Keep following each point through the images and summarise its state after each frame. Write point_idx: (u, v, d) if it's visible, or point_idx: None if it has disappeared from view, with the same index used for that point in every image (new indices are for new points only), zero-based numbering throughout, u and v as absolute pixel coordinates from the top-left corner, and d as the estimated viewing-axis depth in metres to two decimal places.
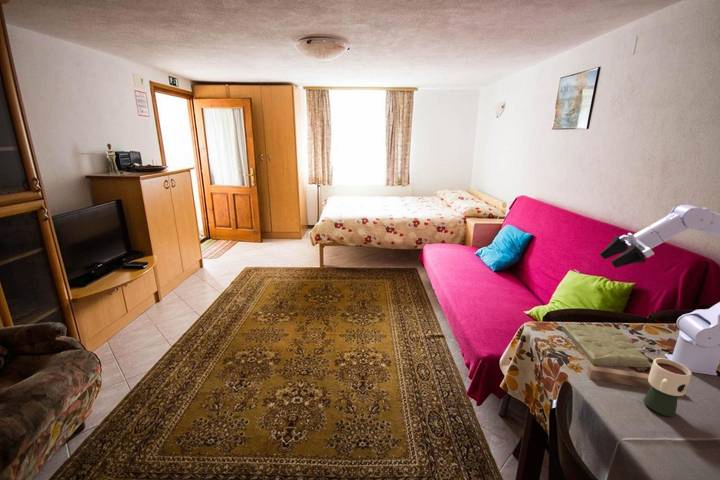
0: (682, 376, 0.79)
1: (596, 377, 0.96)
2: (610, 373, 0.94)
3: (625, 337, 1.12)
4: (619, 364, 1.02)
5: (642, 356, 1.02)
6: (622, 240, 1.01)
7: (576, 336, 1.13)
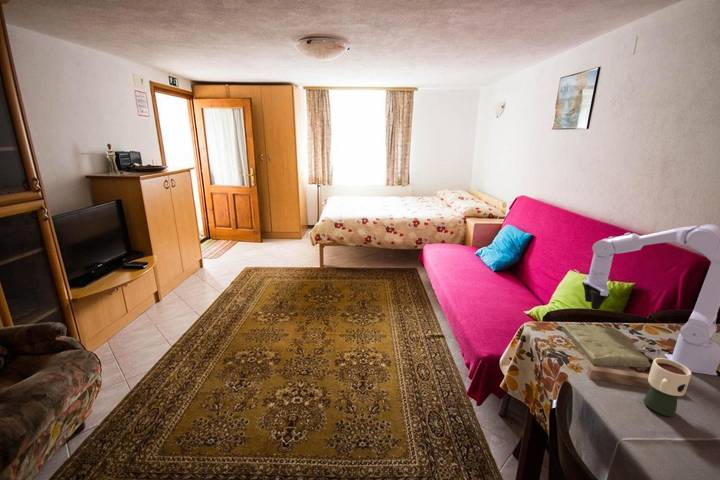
0: (682, 376, 0.79)
1: (596, 377, 0.96)
2: (610, 373, 0.94)
3: (625, 337, 1.12)
4: (619, 364, 1.02)
5: (642, 356, 1.02)
6: None
7: (576, 336, 1.13)
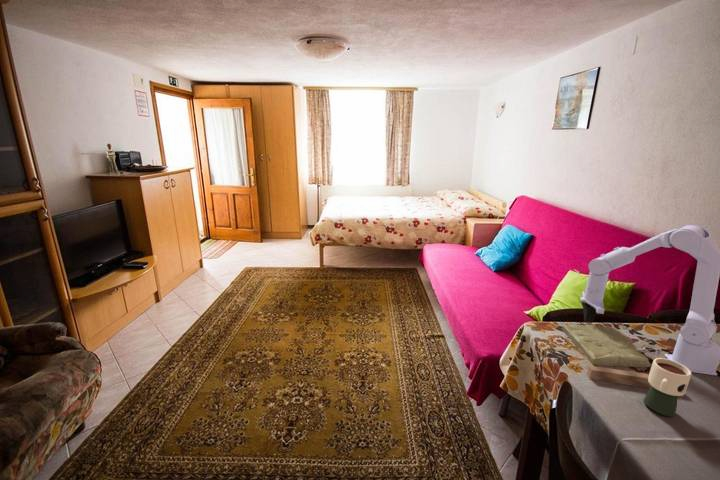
0: (682, 376, 0.79)
1: (596, 377, 0.96)
2: (610, 373, 0.94)
3: (625, 337, 1.12)
4: (619, 364, 1.02)
5: (642, 356, 1.02)
6: None
7: (576, 336, 1.13)
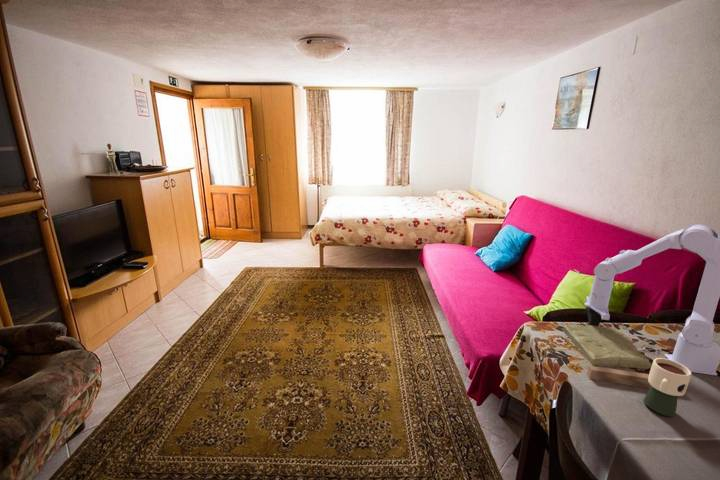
0: (682, 376, 0.79)
1: (596, 377, 0.96)
2: (610, 373, 0.94)
3: (626, 338, 1.11)
4: (619, 365, 1.01)
5: (643, 357, 1.02)
6: None
7: (577, 336, 1.13)
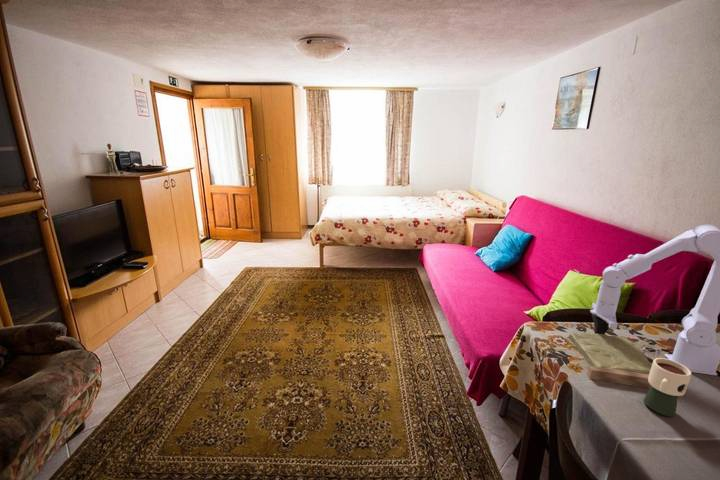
0: (682, 376, 0.79)
1: (596, 377, 0.96)
2: (610, 373, 0.94)
3: (636, 348, 1.06)
4: None
5: None
6: None
7: (583, 345, 1.08)
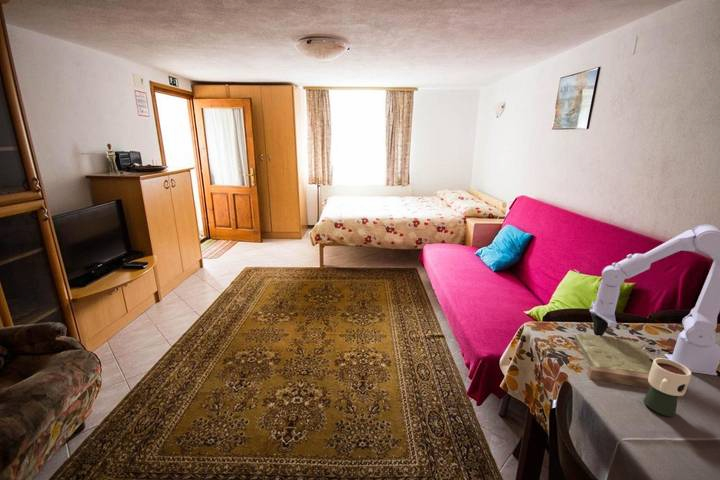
0: (682, 376, 0.79)
1: (596, 377, 0.96)
2: (610, 373, 0.94)
3: (642, 352, 1.04)
4: None
5: None
6: None
7: (586, 346, 1.08)
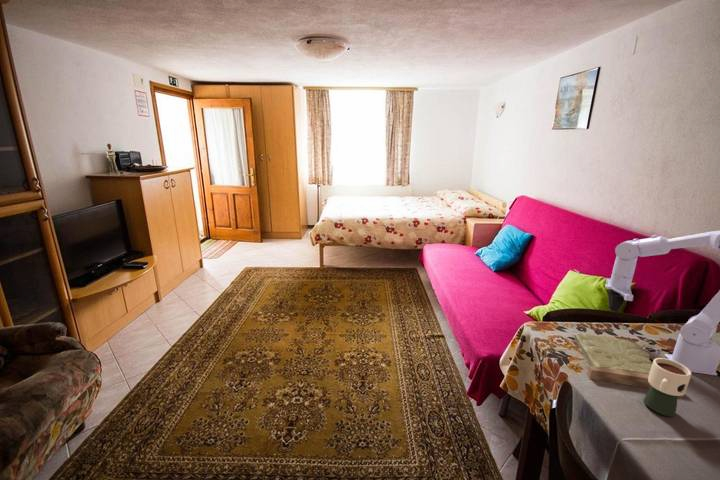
0: (682, 376, 0.79)
1: (596, 377, 0.96)
2: (610, 373, 0.94)
3: (642, 352, 1.04)
4: None
5: None
6: None
7: (586, 346, 1.08)
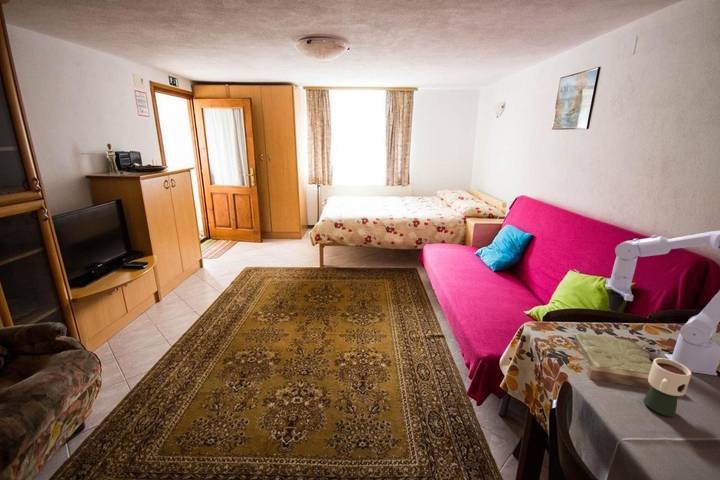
0: (682, 376, 0.79)
1: (596, 377, 0.96)
2: (610, 373, 0.94)
3: (642, 352, 1.04)
4: None
5: None
6: None
7: (586, 346, 1.08)
